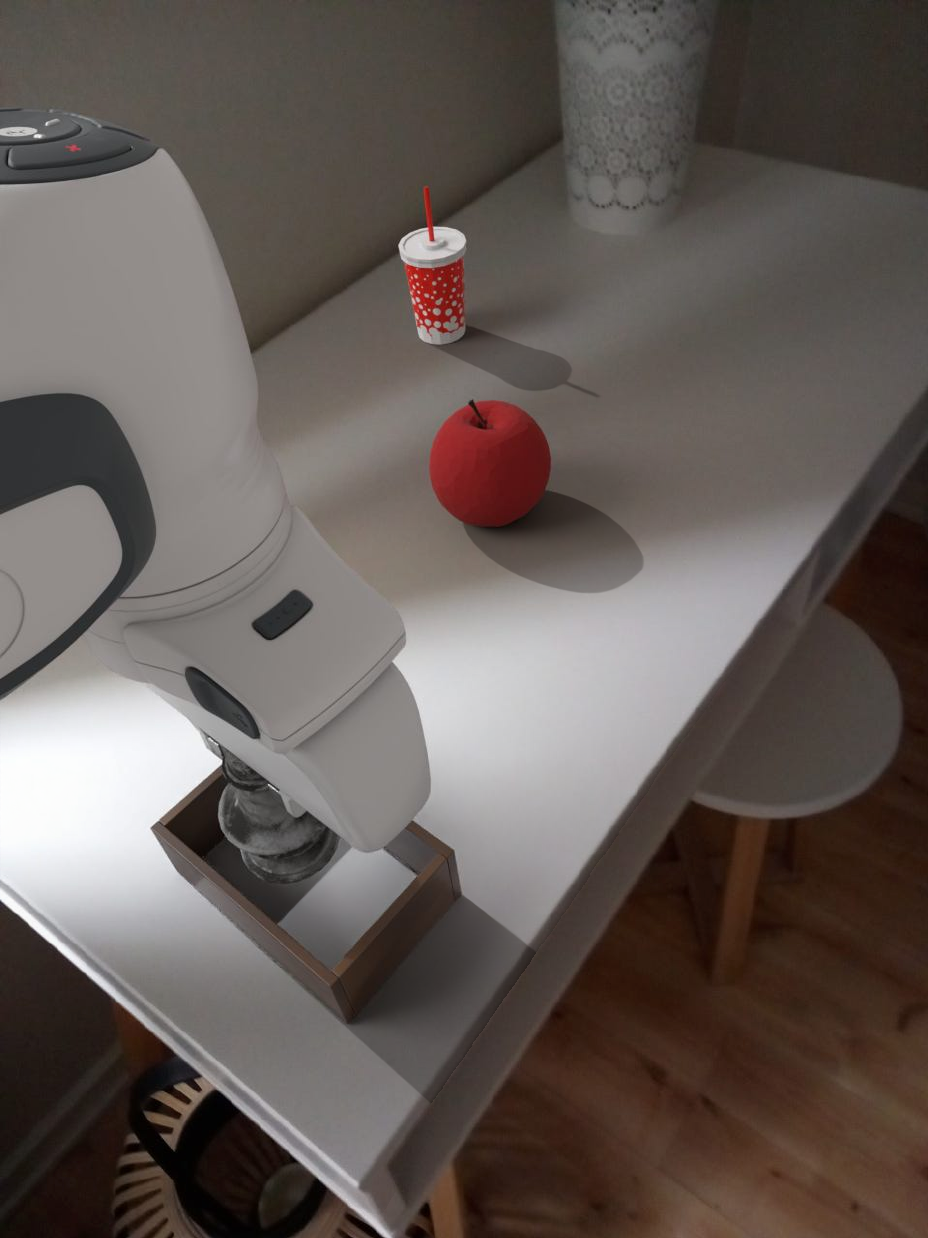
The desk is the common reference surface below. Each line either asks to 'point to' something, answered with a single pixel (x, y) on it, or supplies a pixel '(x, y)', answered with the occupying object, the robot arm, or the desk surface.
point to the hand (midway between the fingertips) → (265, 774)
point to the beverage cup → (436, 279)
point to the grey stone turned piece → (270, 828)
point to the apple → (489, 463)
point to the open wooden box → (343, 989)
